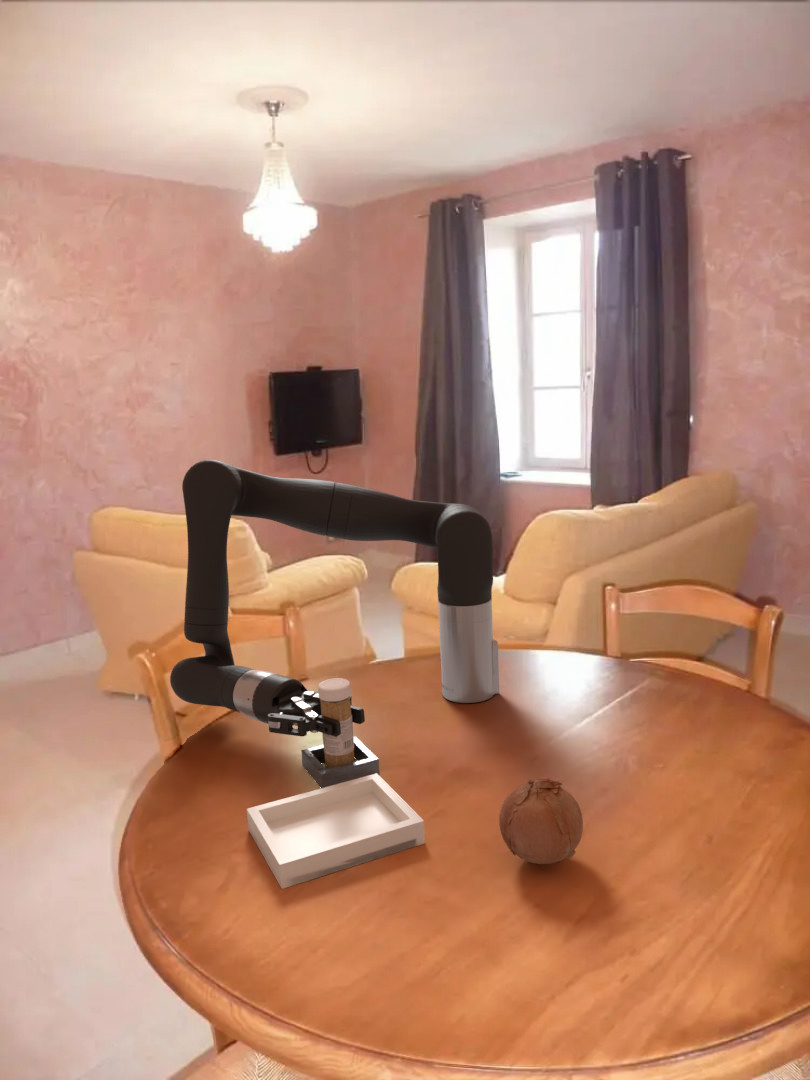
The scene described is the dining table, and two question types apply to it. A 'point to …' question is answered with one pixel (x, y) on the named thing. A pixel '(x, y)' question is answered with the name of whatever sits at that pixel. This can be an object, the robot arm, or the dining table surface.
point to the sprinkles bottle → (339, 708)
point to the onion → (541, 822)
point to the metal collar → (341, 773)
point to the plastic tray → (333, 829)
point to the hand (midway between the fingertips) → (350, 722)
